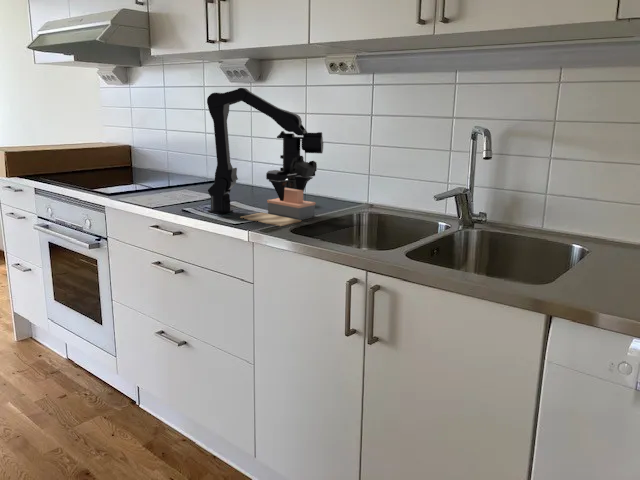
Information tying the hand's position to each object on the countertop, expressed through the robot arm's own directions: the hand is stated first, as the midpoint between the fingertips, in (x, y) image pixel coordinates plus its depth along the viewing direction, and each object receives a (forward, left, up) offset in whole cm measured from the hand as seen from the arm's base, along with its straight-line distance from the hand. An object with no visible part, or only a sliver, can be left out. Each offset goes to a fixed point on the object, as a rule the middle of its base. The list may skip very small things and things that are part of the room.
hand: (291, 199), depth 186 cm
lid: (0, 0, -2) cm, 2 cm away
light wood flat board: (0, -10, -6) cm, 11 cm away
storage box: (0, 0, -6) cm, 6 cm away
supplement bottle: (-15, +17, -6) cm, 23 cm away
